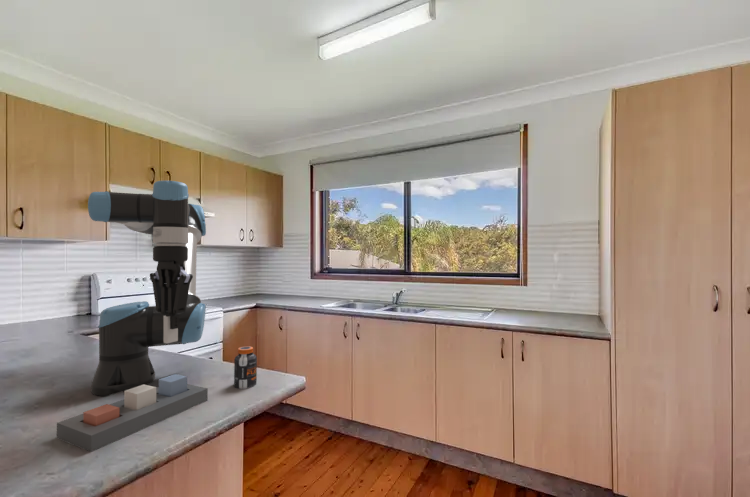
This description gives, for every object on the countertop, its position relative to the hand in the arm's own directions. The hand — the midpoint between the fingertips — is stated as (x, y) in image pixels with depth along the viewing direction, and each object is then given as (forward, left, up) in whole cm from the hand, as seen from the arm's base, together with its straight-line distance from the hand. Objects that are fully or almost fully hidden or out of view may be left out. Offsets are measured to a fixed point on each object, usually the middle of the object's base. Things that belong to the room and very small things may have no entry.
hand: (170, 341), depth 90 cm
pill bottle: (+7, +18, -17) cm, 25 cm away
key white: (0, -7, -13) cm, 15 cm away
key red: (0, -15, -15) cm, 21 cm away
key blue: (0, +1, -13) cm, 13 cm away
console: (0, -7, -16) cm, 18 cm away
